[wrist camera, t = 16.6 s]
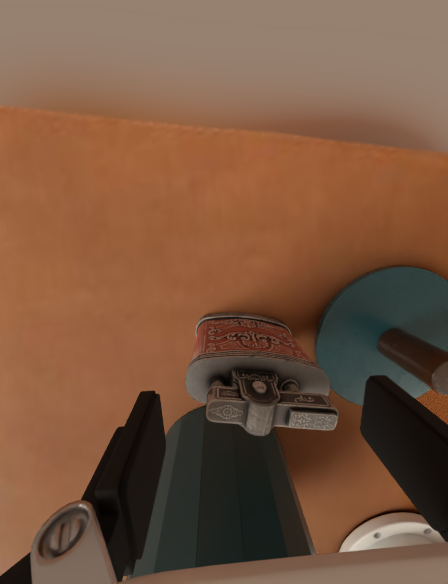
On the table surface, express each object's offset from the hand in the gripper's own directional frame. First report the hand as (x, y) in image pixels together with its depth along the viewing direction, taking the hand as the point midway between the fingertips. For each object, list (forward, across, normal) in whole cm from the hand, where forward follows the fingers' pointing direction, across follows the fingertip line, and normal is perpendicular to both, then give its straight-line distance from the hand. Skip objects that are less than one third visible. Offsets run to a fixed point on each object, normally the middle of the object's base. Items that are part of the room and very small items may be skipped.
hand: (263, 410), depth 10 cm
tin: (+10, +2, +14) cm, 17 cm away
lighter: (+10, 0, 0) cm, 10 cm away
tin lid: (+9, -13, +2) cm, 16 cm away
